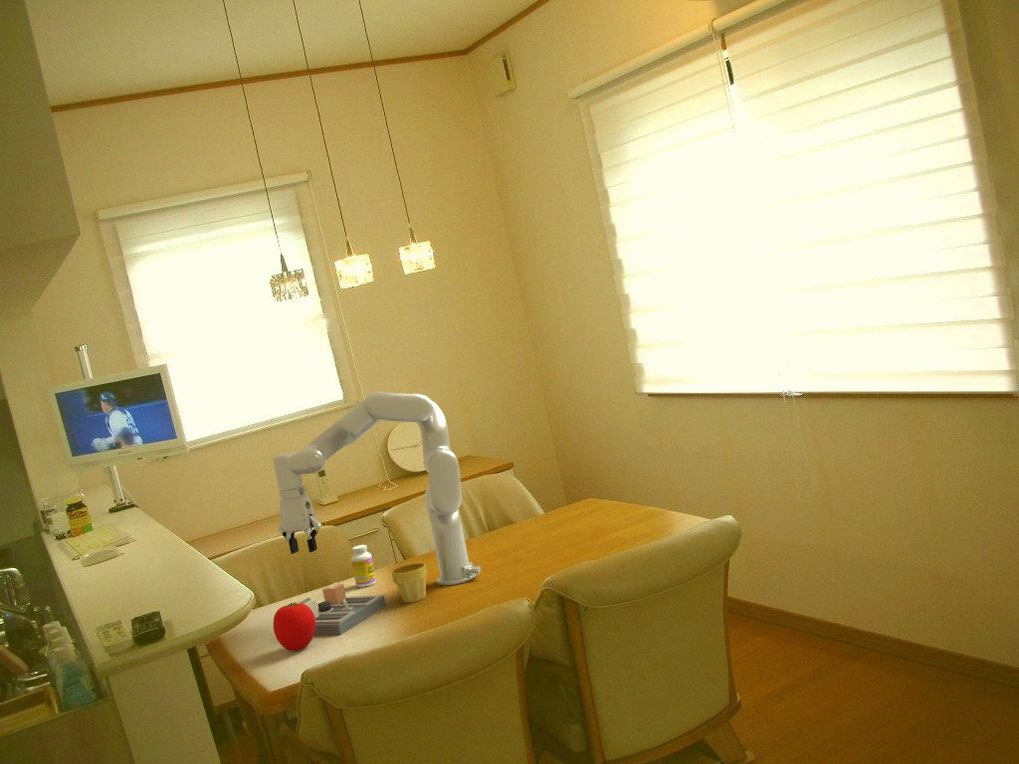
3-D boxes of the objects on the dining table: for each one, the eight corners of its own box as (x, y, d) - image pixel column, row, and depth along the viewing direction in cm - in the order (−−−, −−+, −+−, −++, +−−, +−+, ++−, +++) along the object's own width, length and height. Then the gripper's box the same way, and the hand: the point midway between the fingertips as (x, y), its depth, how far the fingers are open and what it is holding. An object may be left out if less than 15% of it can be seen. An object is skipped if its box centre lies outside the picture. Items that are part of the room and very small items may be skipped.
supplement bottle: (372, 586, 329) (365, 548, 328) (353, 589, 331) (346, 550, 330) (379, 580, 336) (372, 542, 335) (360, 583, 337) (353, 545, 336)
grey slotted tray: (386, 605, 303) (382, 584, 303) (340, 634, 281) (336, 611, 281) (336, 608, 311) (332, 587, 310) (288, 636, 289) (284, 614, 289)
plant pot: (391, 602, 306) (384, 571, 305) (419, 592, 312) (413, 561, 311) (409, 606, 297) (402, 574, 297) (438, 595, 303) (432, 564, 303)
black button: (333, 607, 298) (332, 600, 298) (326, 611, 295) (325, 604, 295) (323, 607, 300) (322, 601, 300) (316, 611, 297) (315, 605, 297)
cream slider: (319, 616, 293) (315, 597, 292) (310, 621, 289) (306, 602, 288) (306, 616, 295) (303, 597, 294) (297, 622, 291) (293, 603, 290)
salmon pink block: (346, 600, 305) (343, 581, 305) (338, 605, 301) (334, 586, 301) (334, 600, 307) (330, 582, 307) (325, 605, 303) (322, 587, 303)
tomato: (269, 657, 272) (260, 611, 272) (292, 642, 283) (283, 598, 282) (305, 655, 268) (296, 608, 267) (326, 640, 278) (317, 595, 278)
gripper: (323, 488, 305) (334, 546, 306) (277, 493, 313) (288, 550, 314) (308, 494, 298) (320, 553, 300) (262, 499, 306) (273, 557, 307)
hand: (304, 551), depth 307 cm, fingers open, 6 cm apart
